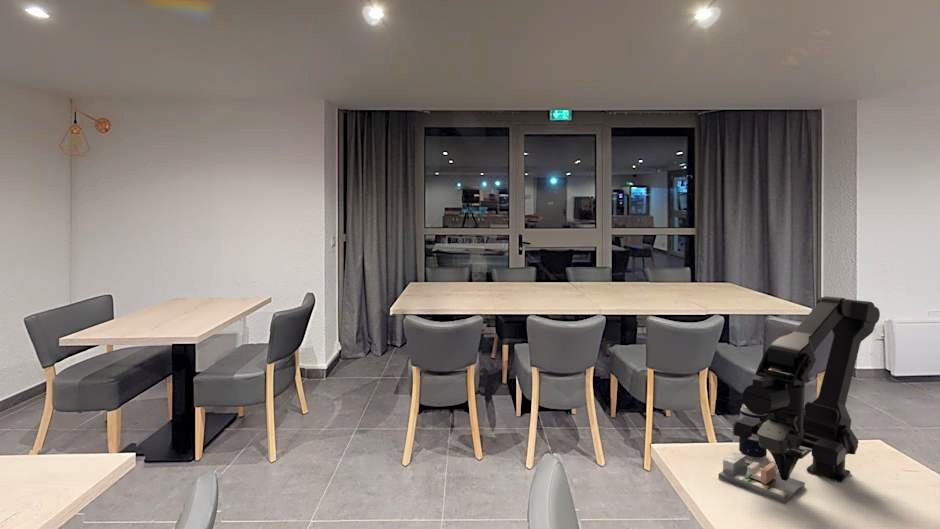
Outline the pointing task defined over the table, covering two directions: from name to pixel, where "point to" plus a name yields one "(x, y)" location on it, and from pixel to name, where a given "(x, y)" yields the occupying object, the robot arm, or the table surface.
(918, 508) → the table surface
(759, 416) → the beverage can
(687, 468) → the table surface
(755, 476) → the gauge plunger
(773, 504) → the table surface
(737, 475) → the frame
